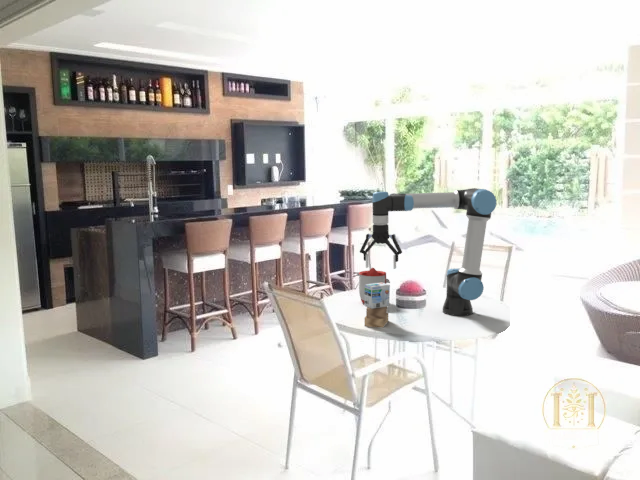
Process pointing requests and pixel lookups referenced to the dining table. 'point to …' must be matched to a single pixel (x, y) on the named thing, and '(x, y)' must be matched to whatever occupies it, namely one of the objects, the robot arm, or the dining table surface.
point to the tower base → (376, 322)
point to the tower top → (376, 313)
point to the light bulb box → (377, 295)
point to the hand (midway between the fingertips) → (380, 267)
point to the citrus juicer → (370, 280)
